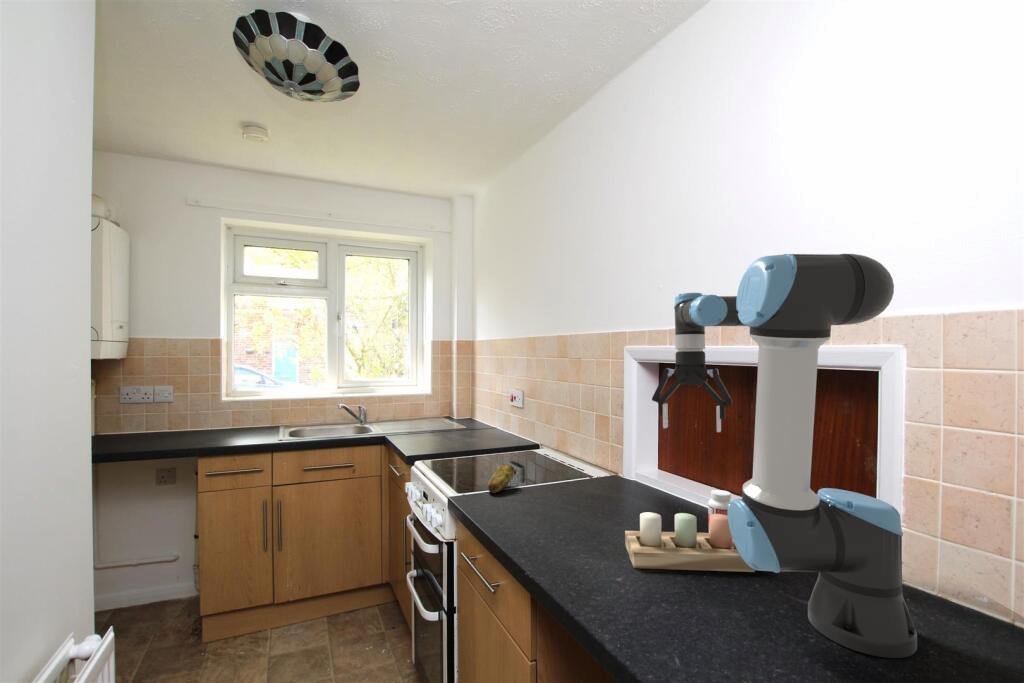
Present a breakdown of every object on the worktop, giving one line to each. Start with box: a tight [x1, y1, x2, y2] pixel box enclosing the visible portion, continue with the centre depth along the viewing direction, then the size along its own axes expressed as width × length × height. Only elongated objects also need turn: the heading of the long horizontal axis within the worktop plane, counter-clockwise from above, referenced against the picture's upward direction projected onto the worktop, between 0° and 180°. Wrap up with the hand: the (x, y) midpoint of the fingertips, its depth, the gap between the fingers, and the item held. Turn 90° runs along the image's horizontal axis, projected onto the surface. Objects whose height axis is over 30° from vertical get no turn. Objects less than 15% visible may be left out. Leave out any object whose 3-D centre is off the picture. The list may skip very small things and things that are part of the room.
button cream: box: [639, 511, 662, 546], centre depth 109 cm, size 5×5×6 cm
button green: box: [674, 512, 698, 547], centre depth 108 cm, size 5×5×6 cm
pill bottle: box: [707, 489, 732, 533], centre depth 121 cm, size 6×6×11 cm
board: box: [624, 530, 756, 573], centre depth 108 cm, size 12×26×4 cm, turn 85°
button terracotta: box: [710, 514, 733, 548], centre depth 107 cm, size 5×5×6 cm
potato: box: [487, 464, 515, 494], centre depth 160 cm, size 8×13×8 cm, turn 134°
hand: (691, 429), depth 125 cm, fingers open, 13 cm apart
